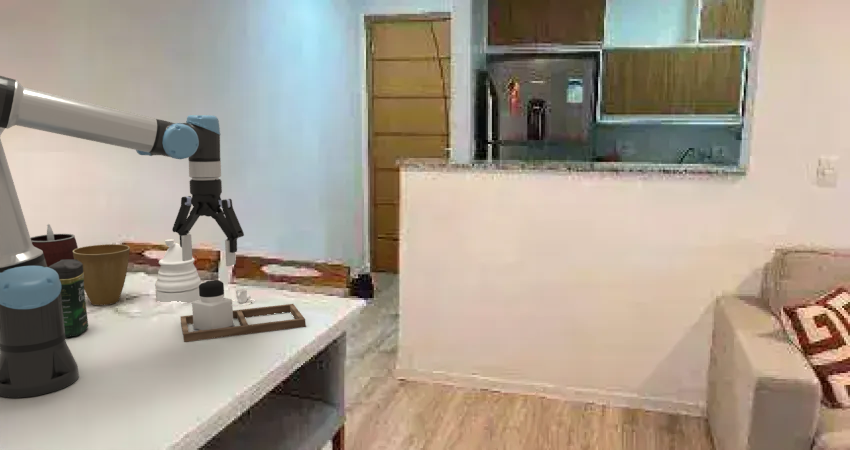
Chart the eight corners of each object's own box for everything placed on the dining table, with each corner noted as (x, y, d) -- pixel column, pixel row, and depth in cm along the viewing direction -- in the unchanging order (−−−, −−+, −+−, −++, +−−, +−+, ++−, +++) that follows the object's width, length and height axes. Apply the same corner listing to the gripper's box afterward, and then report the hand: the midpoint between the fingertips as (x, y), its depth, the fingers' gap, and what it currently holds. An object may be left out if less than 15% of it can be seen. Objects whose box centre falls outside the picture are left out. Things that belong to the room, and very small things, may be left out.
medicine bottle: (234, 325, 173) (231, 280, 171) (212, 333, 167) (209, 286, 165) (214, 321, 176) (212, 276, 174) (193, 328, 170) (190, 283, 168)
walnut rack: (305, 326, 173) (305, 319, 172) (184, 342, 162) (183, 334, 161) (293, 310, 187) (293, 303, 186) (180, 323, 176) (180, 316, 175)
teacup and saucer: (241, 297, 201) (240, 284, 201) (263, 300, 198) (262, 287, 197) (221, 305, 193) (220, 292, 193) (244, 308, 190) (243, 294, 190)
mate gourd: (83, 293, 206) (77, 229, 202) (31, 300, 198) (24, 233, 195) (78, 282, 219) (73, 222, 215) (29, 288, 211) (23, 226, 208)
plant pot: (84, 312, 186) (79, 256, 183) (72, 301, 197) (67, 248, 194) (140, 303, 195) (136, 249, 192) (125, 292, 206) (121, 241, 204)
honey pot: (174, 306, 191) (170, 245, 188) (147, 300, 198) (142, 240, 195) (211, 296, 202) (207, 237, 199) (183, 290, 209) (179, 233, 206)
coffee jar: (80, 338, 165) (73, 264, 161) (45, 340, 163) (37, 266, 160) (93, 326, 174) (86, 256, 171) (60, 327, 173) (53, 257, 170)
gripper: (256, 179, 164) (259, 264, 167) (176, 175, 173) (180, 255, 176) (237, 182, 157) (239, 270, 160) (155, 177, 166) (159, 260, 170)
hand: (208, 262), depth 168 cm, fingers open, 13 cm apart
